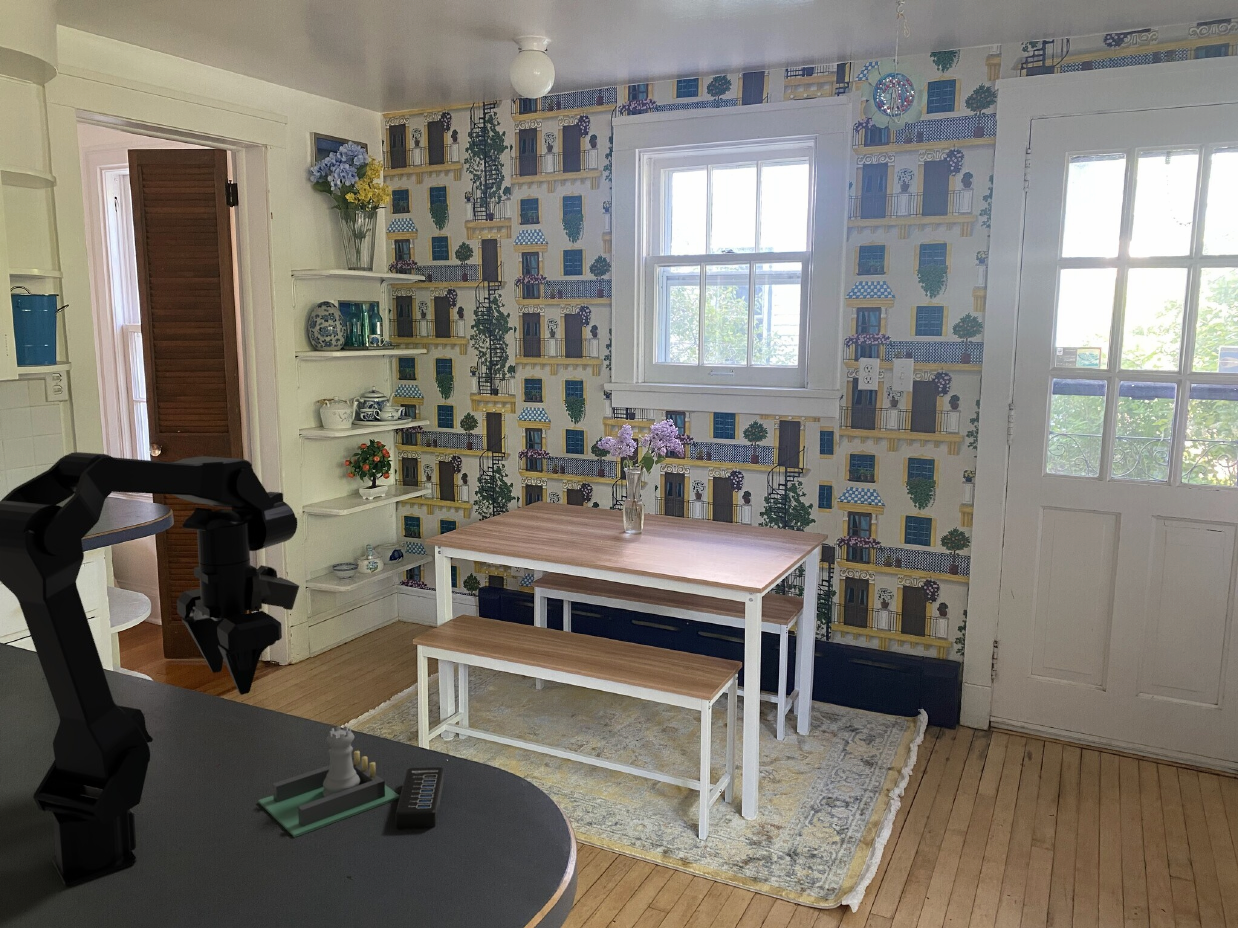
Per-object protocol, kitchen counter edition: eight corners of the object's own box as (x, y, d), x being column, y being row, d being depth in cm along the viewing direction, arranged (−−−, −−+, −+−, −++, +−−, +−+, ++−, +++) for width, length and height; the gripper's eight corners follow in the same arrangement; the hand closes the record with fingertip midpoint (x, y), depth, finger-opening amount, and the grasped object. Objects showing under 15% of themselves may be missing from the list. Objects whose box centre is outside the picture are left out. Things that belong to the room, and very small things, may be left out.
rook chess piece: (314, 796, 108) (312, 733, 107) (342, 780, 112) (340, 719, 111) (341, 806, 106) (339, 741, 105) (369, 790, 110) (367, 727, 108)
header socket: (294, 837, 100) (292, 804, 99) (258, 802, 107) (257, 771, 106) (399, 797, 108) (399, 767, 108) (360, 768, 116) (359, 739, 115)
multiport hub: (395, 832, 102) (395, 813, 101) (407, 784, 112) (407, 767, 112) (435, 831, 102) (435, 812, 102) (443, 783, 113) (443, 766, 113)
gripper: (322, 564, 109) (325, 688, 111) (260, 537, 122) (265, 648, 124) (227, 580, 101) (233, 712, 103) (172, 549, 114) (179, 667, 117)
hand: (230, 682), depth 112 cm, fingers open, 9 cm apart
